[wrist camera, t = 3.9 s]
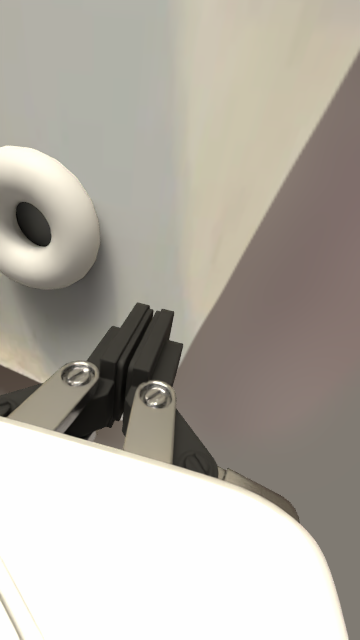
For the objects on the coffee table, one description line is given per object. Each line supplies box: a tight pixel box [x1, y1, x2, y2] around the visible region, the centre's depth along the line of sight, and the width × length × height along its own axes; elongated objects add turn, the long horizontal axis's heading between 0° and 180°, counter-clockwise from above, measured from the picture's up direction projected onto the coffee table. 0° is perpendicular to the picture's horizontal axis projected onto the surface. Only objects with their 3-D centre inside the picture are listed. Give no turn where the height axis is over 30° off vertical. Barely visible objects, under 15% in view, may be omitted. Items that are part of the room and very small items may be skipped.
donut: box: [0, 145, 100, 290], centre depth 21 cm, size 10×4×10 cm
